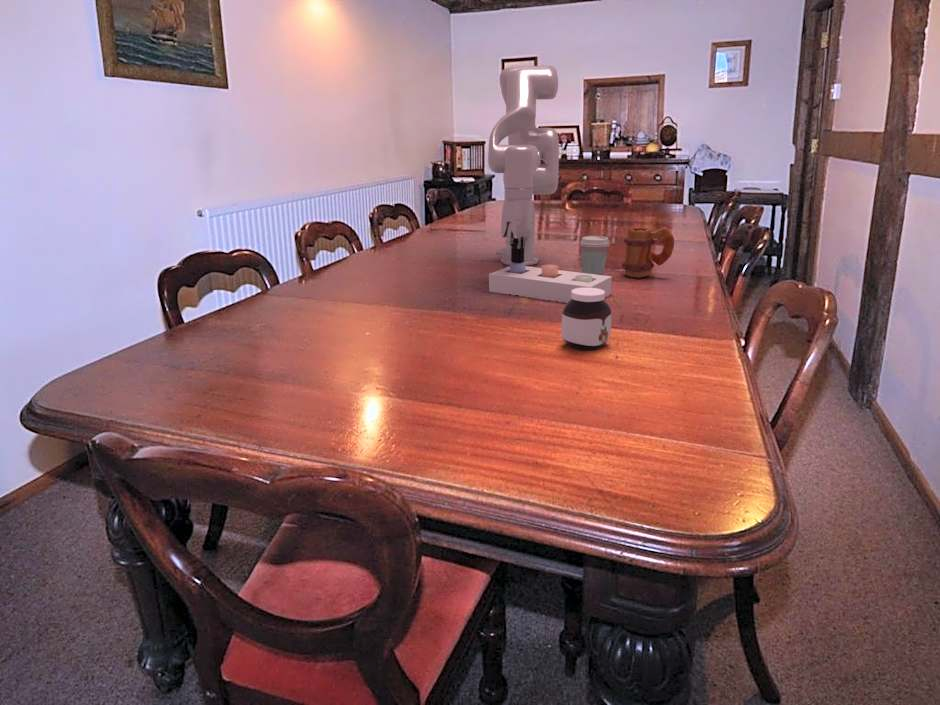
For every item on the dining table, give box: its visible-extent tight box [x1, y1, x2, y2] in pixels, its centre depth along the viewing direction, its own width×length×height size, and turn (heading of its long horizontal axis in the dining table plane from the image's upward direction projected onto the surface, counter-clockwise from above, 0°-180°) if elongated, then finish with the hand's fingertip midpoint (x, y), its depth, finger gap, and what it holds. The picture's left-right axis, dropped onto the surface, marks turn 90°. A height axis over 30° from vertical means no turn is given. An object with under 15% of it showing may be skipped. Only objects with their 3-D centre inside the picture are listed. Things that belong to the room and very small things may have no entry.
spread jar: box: [560, 288, 613, 351], centre depth 138 cm, size 12×11×12 cm
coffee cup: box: [579, 235, 610, 275], centre depth 194 cm, size 8×8×12 cm
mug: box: [621, 226, 675, 279], centre depth 194 cm, size 15×8×15 cm, turn 62°
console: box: [488, 265, 613, 304], centre depth 179 cm, size 30×14×5 cm, turn 57°
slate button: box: [509, 262, 526, 274], centre depth 183 cm, size 4×4×5 cm
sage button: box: [575, 275, 592, 283], centre depth 174 cm, size 4×4×5 cm
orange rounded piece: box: [541, 263, 559, 278], centre depth 178 cm, size 4×4×5 cm
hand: (517, 262), depth 182 cm, fingers closed
